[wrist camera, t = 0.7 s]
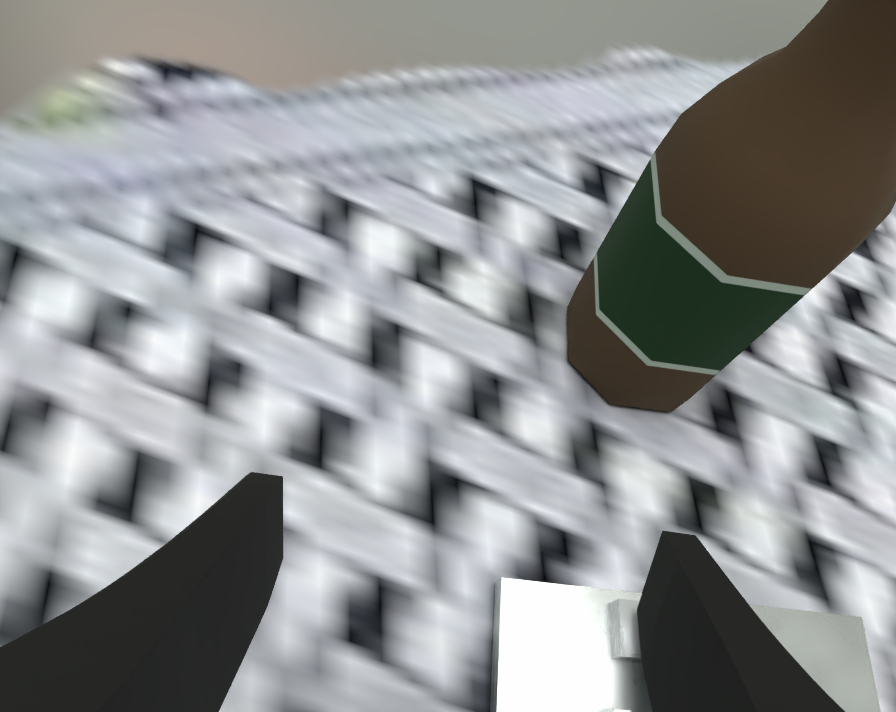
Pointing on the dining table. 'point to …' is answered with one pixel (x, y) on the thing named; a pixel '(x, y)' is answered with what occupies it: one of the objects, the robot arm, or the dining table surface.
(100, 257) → the dining table surface
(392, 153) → the dining table surface
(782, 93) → the beer bottle
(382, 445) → the dining table surface
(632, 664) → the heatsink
